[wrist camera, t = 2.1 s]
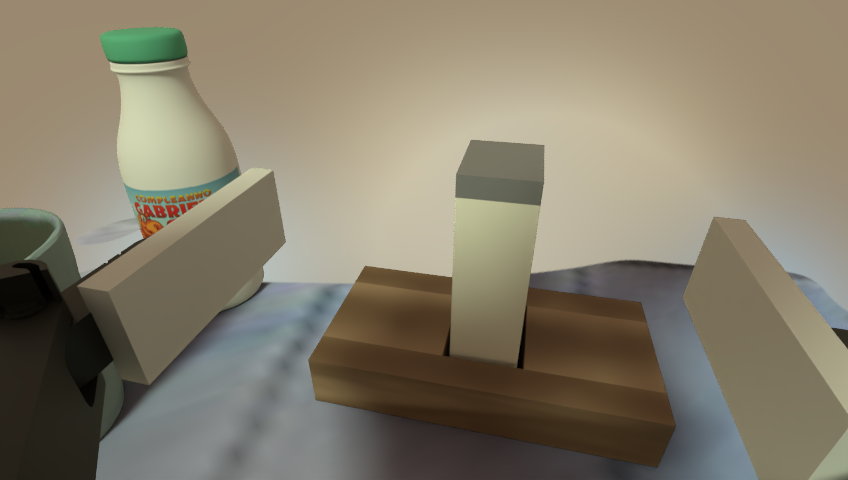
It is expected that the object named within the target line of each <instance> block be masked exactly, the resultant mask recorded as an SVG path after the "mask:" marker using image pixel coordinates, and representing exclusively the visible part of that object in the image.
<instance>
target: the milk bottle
mask: <svg viewBox="0 0 848 480" xmlns="http://www.w3.org/2000/svg"><path fill="white" fill-rule="evenodd" d="M100 39H101V43H102V47H103V50H104V53H105V55H106V58H107V59H108V60H109V61H110V66H111V68H110V70H111V71H113V72H115V73H116V75H117V77H118V79H119V83H120V89H121V117H120V124H119V130H118V138H117V156H118V163H119V168H120V172H121V176H122V178H123V182H124V185H125V188H126V191H127V194H128V197H129V200H130V203H131V205H132V208H133V211H134V214H135V216H136V219H137V222H138V224H139V227H140V230H141V232H142V235H143V238H147V237H149V236H152V235H153V234H155V233H156V232H158V231H159V230H161V229H162V228H164V227H165V226H167V225H168V224H169V223H171V222H172V221H174V220H175V219H177V218H178V217H180V216H181V215H183V214H184V213H186V212H187V211H189V210H190V209H192V208H193V207H195V206H196V205H198V204H199V203H201V202H202V201H204V200H205V199H207V198H208V197H209V196H211V195H212V194H214V193H215V192H217V191H218V190H220V189H221V188H223V187H224V186H226V185H227V184H229V183H230V182H232V181H233V180H235V179H236V178H238V177H239V176H241V172H240V168H239V164H238V161H237V158H236V153H235V151H234V148H233V146H232V143H231V141H230V139H229V137H228V135H227V133H226V131H225V130H224V128H223V126H222V125H221V124H220V122H219V121H218V119H217V118H216V117H215V116H214V114H213V113H212V112H211V111H210V109H209V108H208V107H207V105H206V104H205V102H204V101H203V99H202V98H201V96H200V94H199V93H198V91H197V89H196V87H195V86H194V84H193V82H192V80H191V77H190V74H189V71H188V66H189V64H190V61H189V60H188V56H187V47H186V43H185V39H184V36H183V34H182V32H181V31H180V30H178V29H175V28H162V27H160V28H159V27H153V28H134V29H122V30H114V31H108V32H105V33H103V34H102V35H101V36H100ZM263 277H264V271H263V266H262V268H261V269H260V270H259V271H258V272H257V273H256V274H255V275H254V276H253V277H252V278H251V279H250V280H249V281H248V282H247V283H246V284H245V285H244V286H243V287H242V289H241V290H240V291H239V292H238V293H237V294H236V295H235V296H234V297H233V298H232V299H231V300H230V301H229V302H228V303H227V304H226V305H225V306H224V307H223V308H222V310H221V311H223V310H226V309H229V308H232V307H234V306H236V305H239V304H241V303H242V302H244V301H246V300H247V299H249V298H250V297H251V296H252V295H254V294H255V293H256V291H257V290H258V289H259V287H260V286H261V284H262V280H263Z"/></svg>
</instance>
